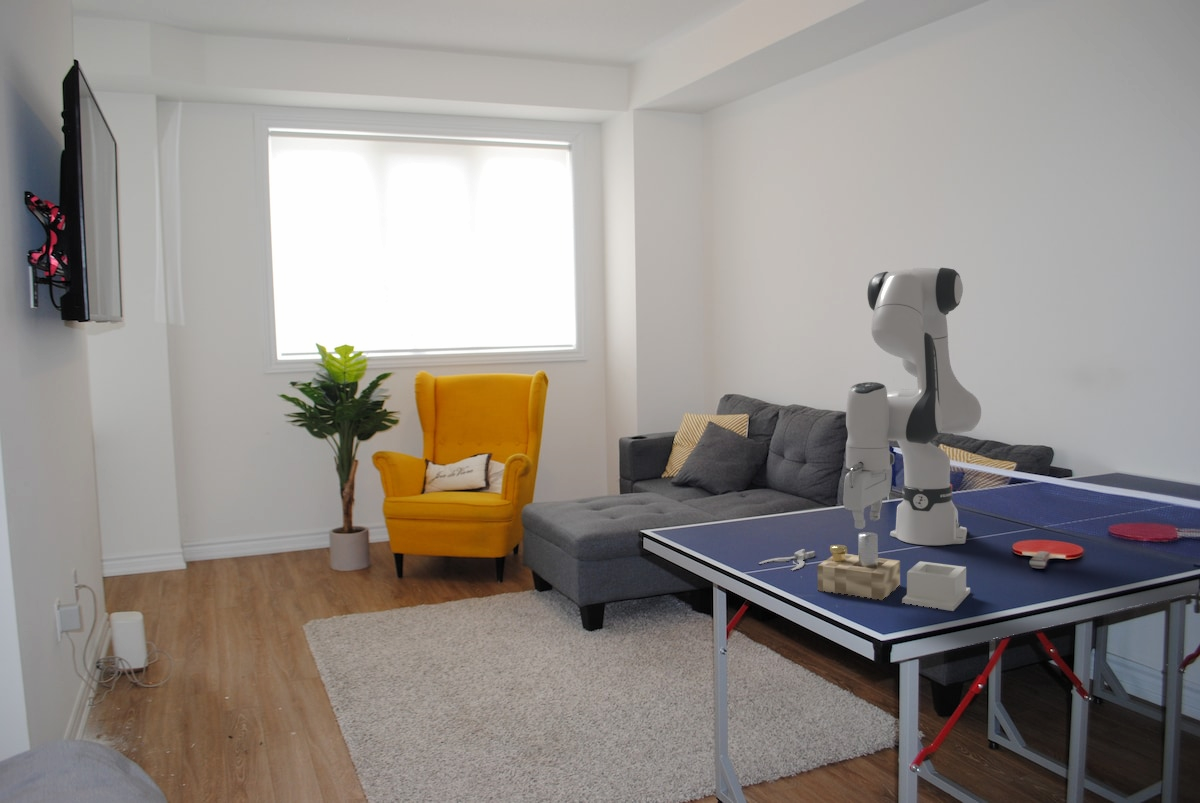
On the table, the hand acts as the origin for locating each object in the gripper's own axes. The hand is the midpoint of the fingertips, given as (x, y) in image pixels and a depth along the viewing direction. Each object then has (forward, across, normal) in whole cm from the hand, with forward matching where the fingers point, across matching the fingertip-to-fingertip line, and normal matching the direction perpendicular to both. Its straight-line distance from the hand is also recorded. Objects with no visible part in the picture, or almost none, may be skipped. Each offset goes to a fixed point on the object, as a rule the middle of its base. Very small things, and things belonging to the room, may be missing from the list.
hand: (867, 523), depth 193 cm
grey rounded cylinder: (+14, 0, 0) cm, 14 cm away
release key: (+14, 0, +7) cm, 15 cm away
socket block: (+14, 0, +2) cm, 14 cm away
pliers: (+15, +14, +23) cm, 31 cm away
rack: (+14, +2, -14) cm, 20 cm away
